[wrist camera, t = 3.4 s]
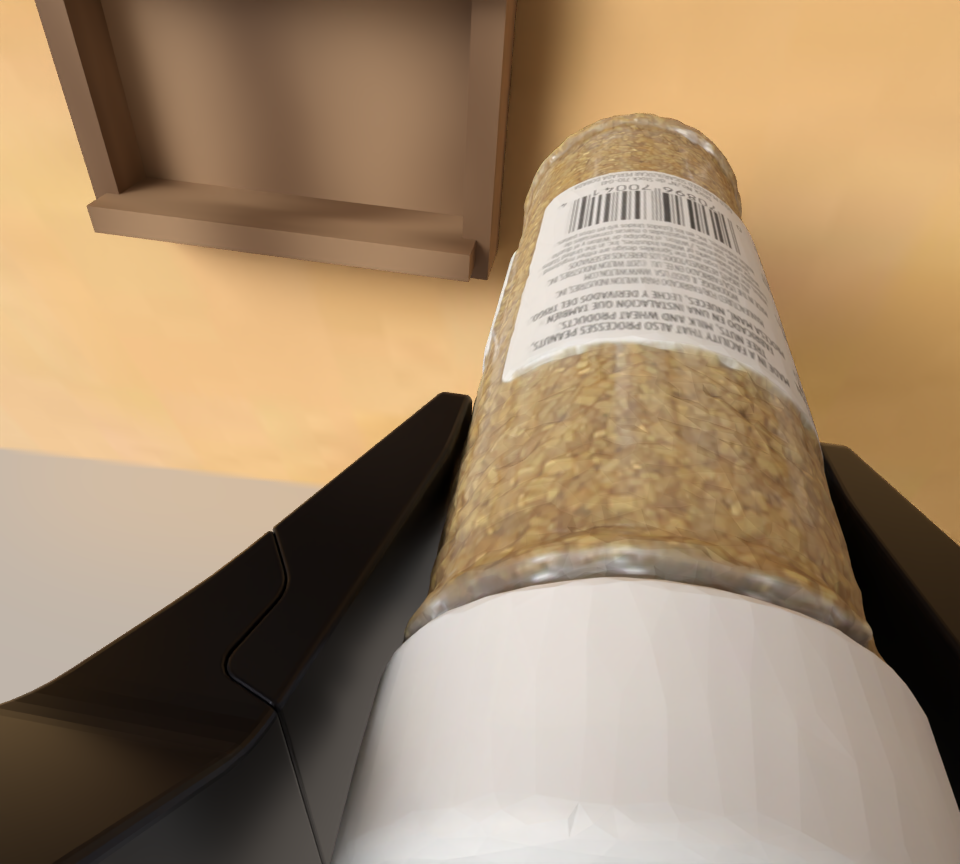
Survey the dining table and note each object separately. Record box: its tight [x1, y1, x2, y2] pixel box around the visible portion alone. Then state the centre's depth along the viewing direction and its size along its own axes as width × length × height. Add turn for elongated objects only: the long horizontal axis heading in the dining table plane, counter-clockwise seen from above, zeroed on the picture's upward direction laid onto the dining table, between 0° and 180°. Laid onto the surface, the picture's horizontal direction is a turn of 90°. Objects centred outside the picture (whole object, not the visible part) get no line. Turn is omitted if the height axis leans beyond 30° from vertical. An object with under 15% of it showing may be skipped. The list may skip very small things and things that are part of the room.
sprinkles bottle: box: [330, 113, 960, 864], centre depth 10 cm, size 5×5×14 cm
